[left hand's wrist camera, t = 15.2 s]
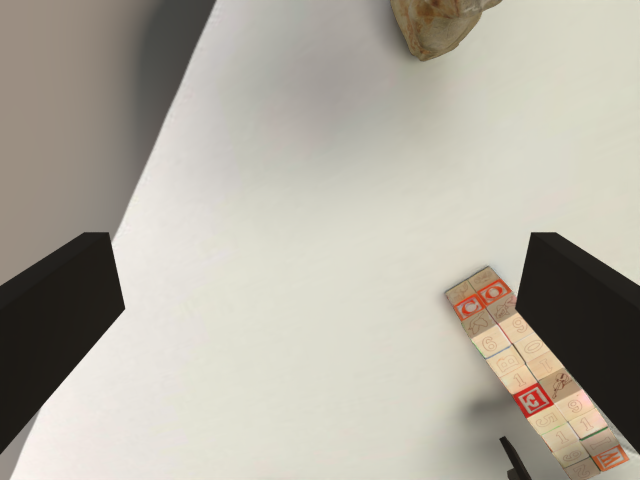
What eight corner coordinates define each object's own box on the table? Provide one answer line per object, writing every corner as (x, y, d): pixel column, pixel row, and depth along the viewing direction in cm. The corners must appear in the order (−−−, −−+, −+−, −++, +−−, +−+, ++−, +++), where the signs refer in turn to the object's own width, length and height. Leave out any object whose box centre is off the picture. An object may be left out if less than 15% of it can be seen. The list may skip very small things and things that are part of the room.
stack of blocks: (442, 292, 47) (481, 359, 36) (489, 264, 46) (544, 324, 35) (521, 401, 54) (575, 487, 42) (564, 379, 52) (632, 462, 41)
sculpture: (441, -38, 35) (522, -118, 21) (458, 47, 37) (540, 27, 23) (377, -12, 35) (415, -73, 22) (399, 69, 38) (444, 63, 24)
